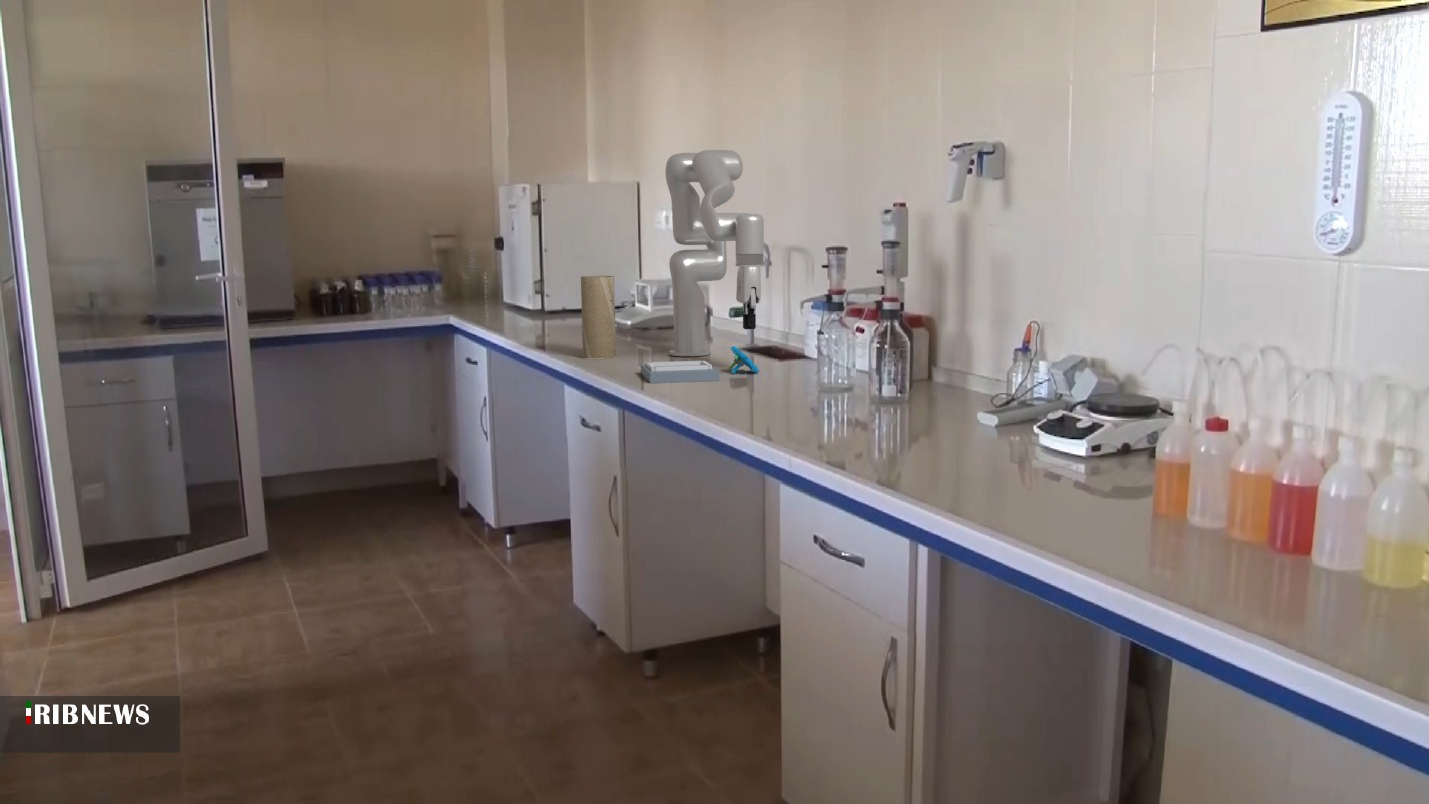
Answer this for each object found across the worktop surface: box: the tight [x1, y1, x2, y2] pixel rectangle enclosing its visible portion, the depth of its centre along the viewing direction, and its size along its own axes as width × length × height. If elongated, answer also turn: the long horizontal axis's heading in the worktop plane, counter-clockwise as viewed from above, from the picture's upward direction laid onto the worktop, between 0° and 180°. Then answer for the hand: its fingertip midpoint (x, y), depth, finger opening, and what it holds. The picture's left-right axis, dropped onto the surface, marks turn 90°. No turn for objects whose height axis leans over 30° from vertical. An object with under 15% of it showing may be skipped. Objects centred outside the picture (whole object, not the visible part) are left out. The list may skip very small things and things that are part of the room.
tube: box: [580, 275, 617, 359], centre depth 348 cm, size 10×10×25 cm
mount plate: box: [640, 360, 720, 384], centre depth 307 cm, size 20×18×4 cm
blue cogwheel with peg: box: [728, 345, 760, 375], centre depth 311 cm, size 11×6×10 cm
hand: (749, 328), depth 311 cm, fingers closed
